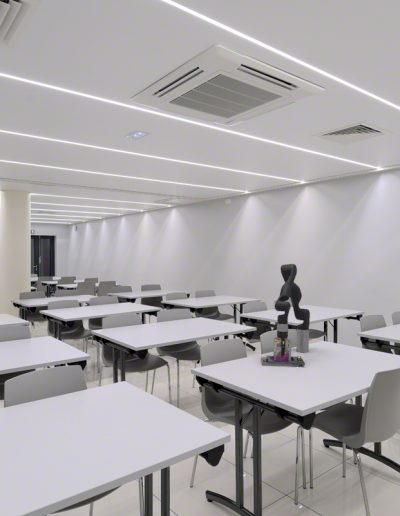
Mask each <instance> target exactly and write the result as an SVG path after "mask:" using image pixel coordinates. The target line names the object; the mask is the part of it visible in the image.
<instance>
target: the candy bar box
mask: <svg viewBox="0 0 400 516" xmlns="http://www.w3.org/2000/svg"><path fill="white" fill-rule="evenodd" d="M280 341H281V338H279V337H277V335H276V336H274V337H273V356H274V357H273V360H274V361H291V356H292V338H291V337H287V338H285V355H284V356H282V355H281V347H280ZM282 348H284V347H282Z"/></svg>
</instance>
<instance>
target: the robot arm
mask: <svg viewBox="0 0 400 516" xmlns="http://www.w3.org/2000/svg"><path fill="white" fill-rule="evenodd" d="M280 274H281V276H282V278H283V281H284V284H283V285H282V286H281V288H280V292H279V296H278V298H277V299H276V301H275V302H274V303H275V304H274V309H275V310H276V312H284V313H283V314H278V315H277V323H276V324H277V325H276V336H277V337H279V338H281V341H280V347H281V355H282V356H284V355H285V338H289V322H288V321H289V314H290V311H291V305H292V309H293V310H292V311H293V314H294V317H295V319H296V320H297V321H302V323H299V324H297V325H296V352H299V353H309V352H308V351H309V349H310V348H309V346H310V344H309V343H310V342H309V341H310V323H311V322H310V320H311V312H310V310H309V309H308V308H301V307H300V305H299V304H300V302H301V300H302V297H303V295H302V291H301V288H300V286H299V285H298V284H297V283H295V279H296V277H297V274H298V269H297V265H296V264H294V263H287V264H282V265H281V266H280ZM289 300H290V302H291V303H290V302H289ZM282 347H284V348H282Z"/></svg>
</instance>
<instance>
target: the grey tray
mask: <svg viewBox="0 0 400 516" xmlns="http://www.w3.org/2000/svg"><path fill="white" fill-rule="evenodd" d="M273 357H274V355H266V356H263V357H260V361H261V365H262V367H263V366H267V367H270V366H271V367H289V368H290V367H292V368H293V367H294V368H299V366H303V365H304V366H305V361H304V360H303V358H302V356H300V355H296V356H292V355H291V361H274V360H273Z"/></svg>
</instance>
